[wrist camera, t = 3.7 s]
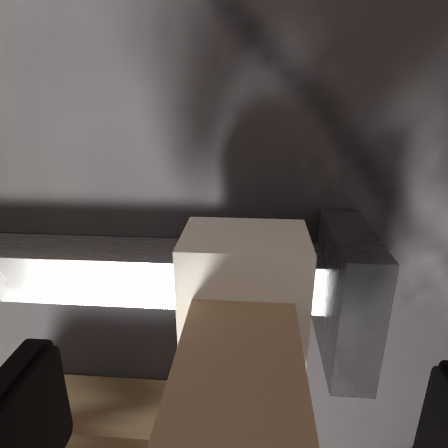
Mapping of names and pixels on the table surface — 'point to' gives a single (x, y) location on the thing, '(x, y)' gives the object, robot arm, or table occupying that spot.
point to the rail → (165, 294)
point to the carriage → (240, 337)
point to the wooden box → (112, 410)
